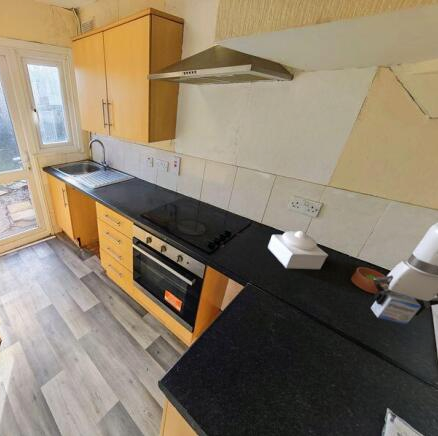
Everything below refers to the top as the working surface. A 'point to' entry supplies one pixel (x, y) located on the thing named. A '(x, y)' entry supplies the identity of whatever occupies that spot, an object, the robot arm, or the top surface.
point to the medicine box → (396, 308)
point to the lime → (369, 277)
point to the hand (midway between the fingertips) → (394, 306)
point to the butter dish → (297, 250)
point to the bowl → (363, 281)
